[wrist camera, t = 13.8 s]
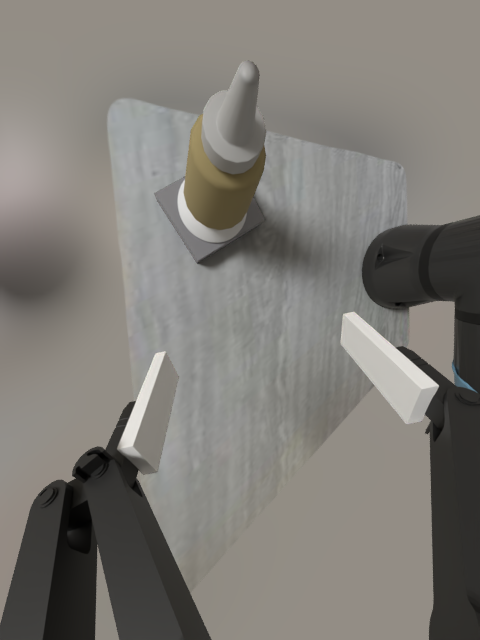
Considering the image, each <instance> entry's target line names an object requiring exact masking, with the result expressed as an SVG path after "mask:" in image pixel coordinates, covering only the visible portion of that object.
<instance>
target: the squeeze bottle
mask: <svg viewBox="0 0 480 640" xmlns="http://www.w3.org/2000/svg"><path fill="white" fill-rule="evenodd" d="M259 76H260V75H259V70H258V68H257V66H256V65H255V64H254V63H253V62H251V61H243V62H242V63H241V64H240V66H239V68H238V70H237V73H236V75H235V77H234V79H233V81H232V84H231V86H230V88H229V90H222V91H220V92H218V93H216V94H215V95H213V96H212V97H211V98H210V99H209V101H208V103H207V104H206V106H205V108H204V111H203V114H202V115H200V116H199V117H198V119H197V121H196V122H195V124H194V126H193V127H192V129H191V135H190V143H189V151H188V159H187V167H186V176H185V184H184V192H183V193H184V197H185V201H186V205H187V208H188V209H189V211H190V212H191V214H192V215H193V216H194V218H195V219H196V220H197V221H199V222H200V223H201V224H203V225H204V226H206V227H208V228H212V229H216V230H224V229H229V228H232V227H234V226H235V225H237V224H238V223H239V222H241V221H242V219H243V218H244V216H245V214H246V213H247V211H248V209H249V206H250V204H251V201H252V199H253V196H254V194H255V191H256V189H257V186H258V184H259V181H260V178H261V176H262V173H263V171H264V165H265V158H266V153H265V148H264V142H265V136H266V129H265V123H264V118H263V116H262V114H261V112H260V110H259V108H258V106H257V105H256V104H257V95H258V85H259Z"/></svg>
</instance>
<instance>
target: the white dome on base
mask: <svg viewBox="0 0 480 640" xmlns="http://www.w3.org/2000/svg"><path fill="white" fill-rule="evenodd" d="M184 184H185V177H183V178H181V179H179V180H177V181H175V182H174V183H172V184H170V185H168V186H166V187H165V188H163V189H161V190H159V191H157V192H156V193H154V194H155V197H156V199H157V202H158V203H159V205H160V206H161V208H162V209H163V211H164V212H165V214H166V216H167V217H168V219H169V220H170V222H171V223H172V225H173V227H174V228H175V230H176V231H177V233H178V234H179V236H180V238H181V239H182V241H183V242H184V244H185V245H186V247H187V249H188V250H189V252H190V253H191V255H192V256H193V258H194V259H195V261H196V263H198V262H200V261H201V260H203V259H205V258H206V257H208V256H210V255H211V254H213V253H215V252H216V251H218V250H219V249H221V248H223V247H224V246H226V245H228V244H229V243H231V242H233V241H234V240H236V239H237V238H239V237H241V236H242V235H244V234H246V233H247V232H249V231H250V230H252V229H254V228H255V227H257V226H259V225H260V224H261V223H262V222H263V221H264V220H265V218H264V216H263V214H262V212H261V210H260V208H259V206H258V204H257V202H256V200H255V199H254V197H253V199H252V201H251V204H250V206H249V209H248V211H247V213H246V214H245V216H244V218H243V219H242V221H241V222H239V223H238V224H237V225H235V226H234V227H232V228H229V229H224V230H216V229H212V228H208V227H206V226H204V225H203V224H201V223H200V222H199V221H197V220H196V219H195V218H194V216H193V215H192V214H191V212H190V211H189V209H188V208H187V205H186V201H185V197H184V193H183V192H184Z"/></svg>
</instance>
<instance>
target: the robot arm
mask: <svg viewBox="0 0 480 640" xmlns="http://www.w3.org/2000/svg"><path fill="white" fill-rule="evenodd" d="M362 277H363V283H364V287H365V289H366V291H367V293H368V295H369V296H370V298H371V299H372V300H373V301H374V302H375V303H377V304H378V305H381V306H383V307H388V308H407V307H412V306H416V305H420V304H425V303H429V302H433V301H453V302H455V323H454V326H455V327H454V360H453V362H452V369H453V372H454V380H455V385H454V384H453V383H452V382H450V381H449V380H448V379H447V378H446V377H444V376H443V375H442V374H441V373H439V372H438V371H437V370H436V369H434V368H433V367H432V366H431V365H428V363H427V362H426V361H424V360H423V359H421V357H419V356H418V355H417V354H416V353H415V352H413V351H411V350H409V349H407V348H405V347H403V346H401V347H396V348H395V347H394V346H393V345H392V344H390V343H389V342H388V341H387V340H386V339H385V338H384V337H382V336H381V335H380V334H379V333H378V332H377V331H375V330H374V329H373V328H372V327H371V326H370V325H369V324H367V323H366V322H365V321H364V320H363V319H362V318H360V317H359V316H358V315H357V314H356V313H355V312H350V313H345V314H343V322H342V333H341V345H342V346H343V347H344V348H345V350H346V351H347V352H348V353H349V355H350V356H351V357H352V358H353V359H354V361H355V362H356V363H357V364H358V366H359V367H360V368H361V369H362V370H363V372H364V373H365V374H366V375H367V377H368V378H369V379H370V380H371V381H372V383H373V384H374V385H375V386H376V388H377V389H378V390H379V391H380V393H381V394H382V395H383V396H384V397H385V399H386V400H387V401H388V402H389V404H390V405H391V406H392V407H393V408H394V410H395V411H396V412H397V413H398V415H399V416H400V417H401V418H402V419H403V421H404V422H405V423H406V424H411V423H416V422H421V421H422V420H423V417H424V416H425V415H426V416H427V417H428V418H429V419H430V420H431V422H430V424H429V426H428V427H427V429H426V432H425V433H426V434H428V433H429V432H430V461H431V462H430V463H431V505H432V547H433V592H434V604H433V611H432V614H431V618H430V626H429V640H480V215H479V216H476V217H472V218H468V219H464V220H460V221H456V222H452V223H449V224H445V225H402V226H398V227H395V228H391V229H388V230H386V231H384V232H382V233H381V234H379V235H378V236H377V237H376V238H375V239H374V240H373V242H372V243H371V244H370V246H369V248H368V250H367V252H366V254H365V257H364V261H363V267H362ZM178 379H179V376H178V374H177V372H176V370H175V368H174V366H173V364H172V363H171V361H170V359H169V357H168V355H167V353H166V351H165V352H160V353H156V354H155V356H154V359H153V361H152V364H151V366H150V369H149V371H148V374H147V376H146V378H145V381H144V383H143V386H142V388H141V391H140V393H139V396H138V398H137V401H134V402H130V403H129V404H128V405H127V406H126V407H125V409H124V410H123V412H122V414H121V416H120V419H119V421H118V423H117V425H116V428H115V430H114V432H113V434H112V436H111V439H110V441H109V443H108V445H107V447H106V450H104V449H103V448H102V447H95V448H92V449H90V450H88V451H87V452H86V453H85V454H83V455H82V456H81V457H80V458H79V460H78V461H77V462H76V464H75V466H74V469H73V473H72V476H74V477H75V478H76V479H74V480H72V481H70V482H68V483H67V482H65V481H63V480H56V481H54V482H52V483H51V484H49V485H48V486H46V487H45V488H44V489H43V490H42V491H41V492H40V493H39V494H38V496H37V497H36V499H35V500H34V502H33V504H32V507H31V509H30V513H29V517H28V520H27V524H26V528H25V532H24V536H23V539H22V543H21V547H20V551H19V555H18V559H17V563H16V567H15V570H14V574H13V578H12V581H11V586H10V589H9V593H8V597H7V601H6V604H5V608H4V612H3V616H2V620H1V623H0V640H95V616H96V615H95V613H96V576H97V575H96V574H97V544H98V548H99V552H100V556H101V561H102V565H103V570H104V574H105V579H106V583H107V587H108V592H109V596H110V600H111V605H112V609H113V614H114V618H115V622H116V627H117V631H118V635H119V640H211V638H210V636H209V634H208V631H207V629H206V627H205V625H204V623H203V620H202V618H201V616H200V614H199V612H198V610H197V607H196V605H195V603H194V601H193V599H192V596H191V594H190V592H189V590H188V588H187V586H186V583H185V581H184V579H183V577H182V575H181V572H180V570H179V568H178V566H177V564H176V562H175V559H174V557H173V555H172V553H171V551H170V548H169V546H168V544H167V542H166V540H165V538H164V535H163V533H162V531H161V529H160V527H159V524H158V522H157V520H156V518H155V516H154V514H153V511H152V509H151V507H150V505H149V503H148V500H147V498H146V496H145V494H144V492H143V490H142V487H141V485H140V483H139V481H138V480H137V479H136V477H137V474H138V470H139V471H140V472H141V473H142V474H143V475H146V474H151V473H156V472H158V467H159V463H160V459H161V454H162V450H163V445H164V441H165V436H166V432H167V427H168V423H169V419H170V414H171V410H172V405H173V401H174V396H175V392H176V387H177V383H178Z"/></svg>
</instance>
